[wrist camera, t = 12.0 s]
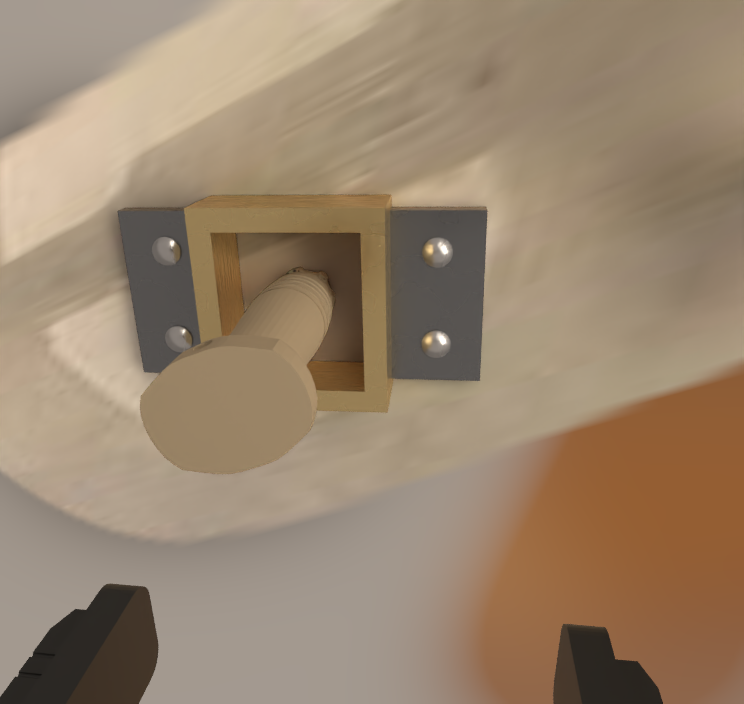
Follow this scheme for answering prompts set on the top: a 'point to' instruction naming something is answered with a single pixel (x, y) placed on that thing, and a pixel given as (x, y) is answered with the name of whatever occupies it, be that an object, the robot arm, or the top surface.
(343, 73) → the top surface
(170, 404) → the handle
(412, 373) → the wooden frame on plate
